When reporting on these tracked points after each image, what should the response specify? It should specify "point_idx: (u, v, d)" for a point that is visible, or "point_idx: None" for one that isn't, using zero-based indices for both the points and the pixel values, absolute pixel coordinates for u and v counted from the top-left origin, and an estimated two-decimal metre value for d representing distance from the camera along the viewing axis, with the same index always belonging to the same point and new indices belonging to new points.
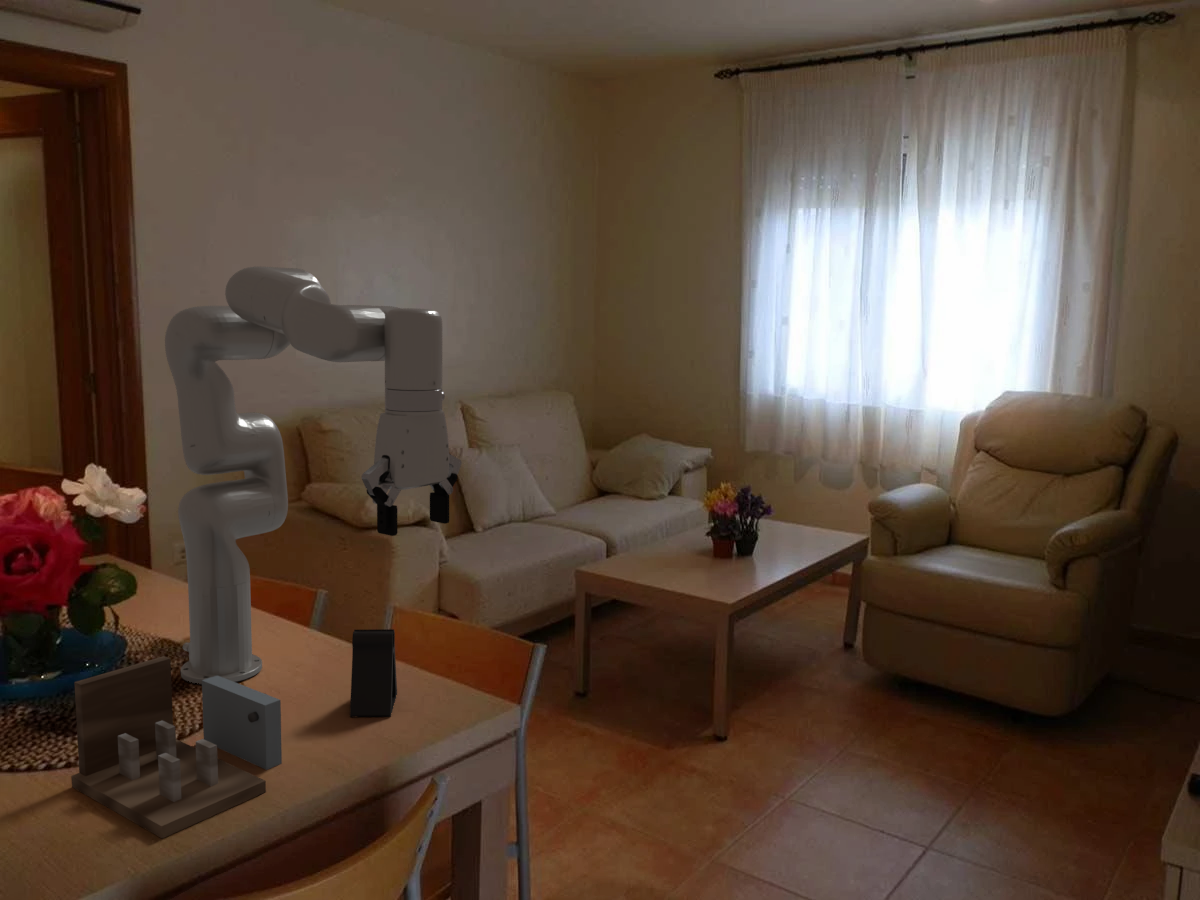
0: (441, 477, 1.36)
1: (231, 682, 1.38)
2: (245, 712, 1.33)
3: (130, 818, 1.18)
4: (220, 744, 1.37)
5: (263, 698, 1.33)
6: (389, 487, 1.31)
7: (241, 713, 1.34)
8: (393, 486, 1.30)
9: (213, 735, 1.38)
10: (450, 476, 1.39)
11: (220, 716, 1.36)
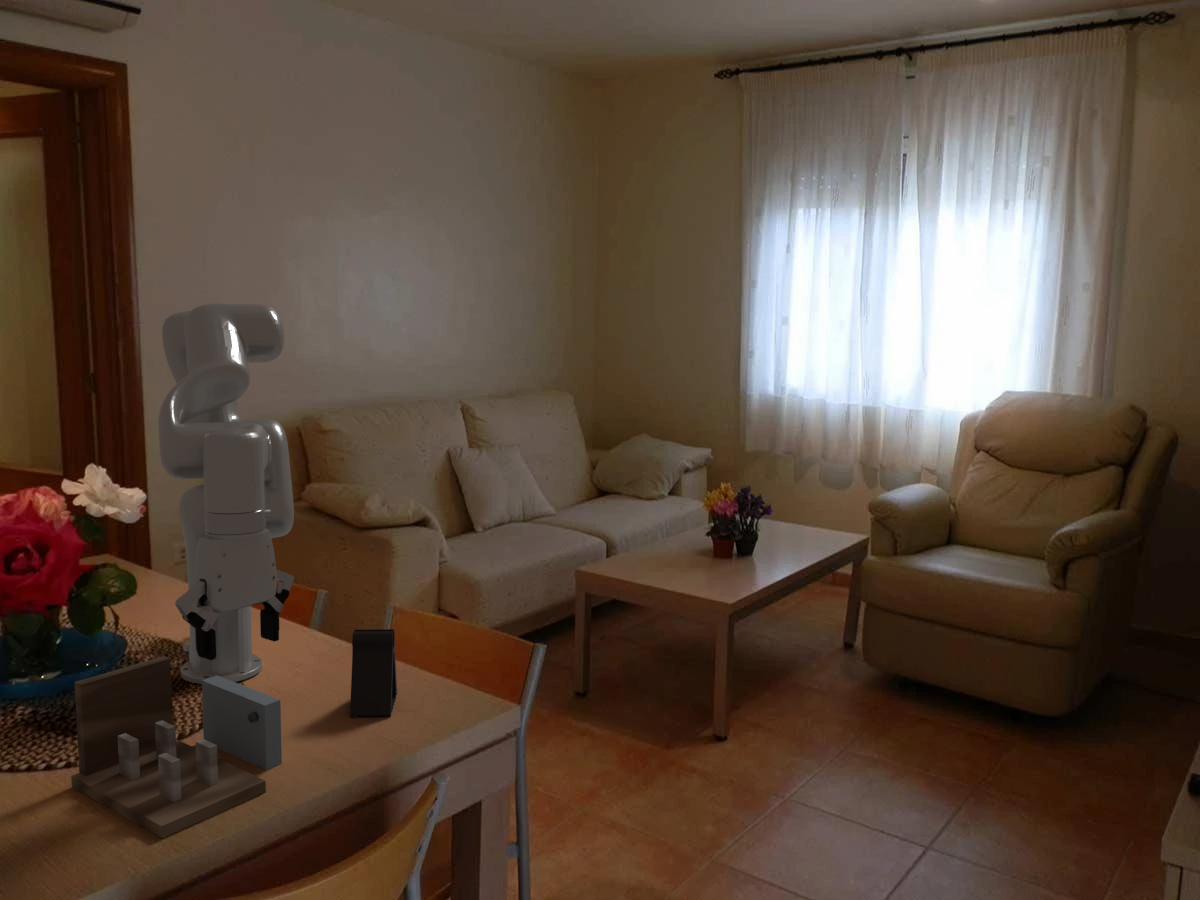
0: (267, 596, 1.34)
1: (231, 682, 1.38)
2: (245, 712, 1.33)
3: (130, 818, 1.18)
4: (220, 744, 1.37)
5: (263, 698, 1.33)
6: (208, 610, 1.30)
7: (241, 713, 1.34)
8: (211, 610, 1.29)
9: (213, 735, 1.38)
10: (281, 593, 1.38)
11: (220, 716, 1.36)
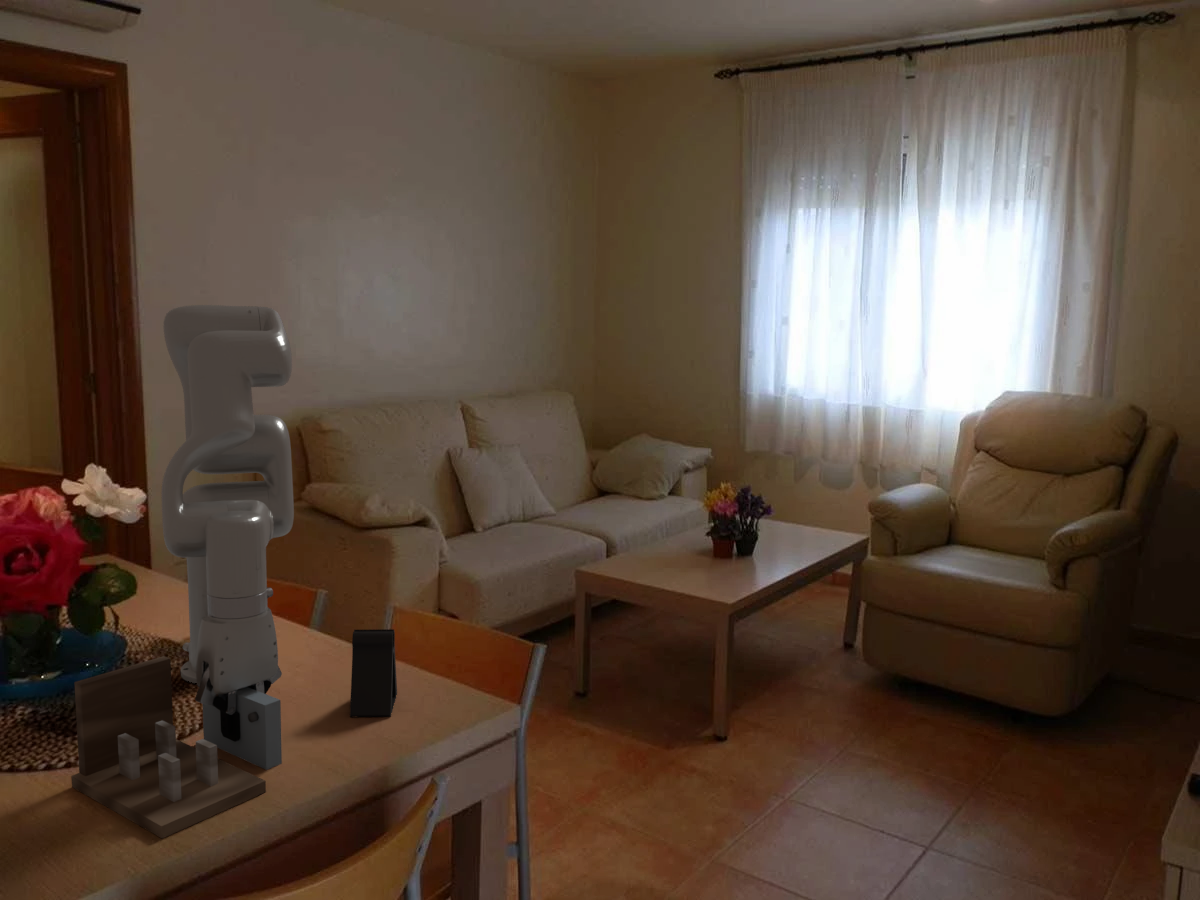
0: (268, 674, 1.36)
1: None
2: (245, 712, 1.33)
3: (130, 818, 1.18)
4: (220, 744, 1.37)
5: (263, 698, 1.33)
6: None
7: (241, 713, 1.34)
8: (226, 696, 1.32)
9: (213, 735, 1.38)
10: None
11: None
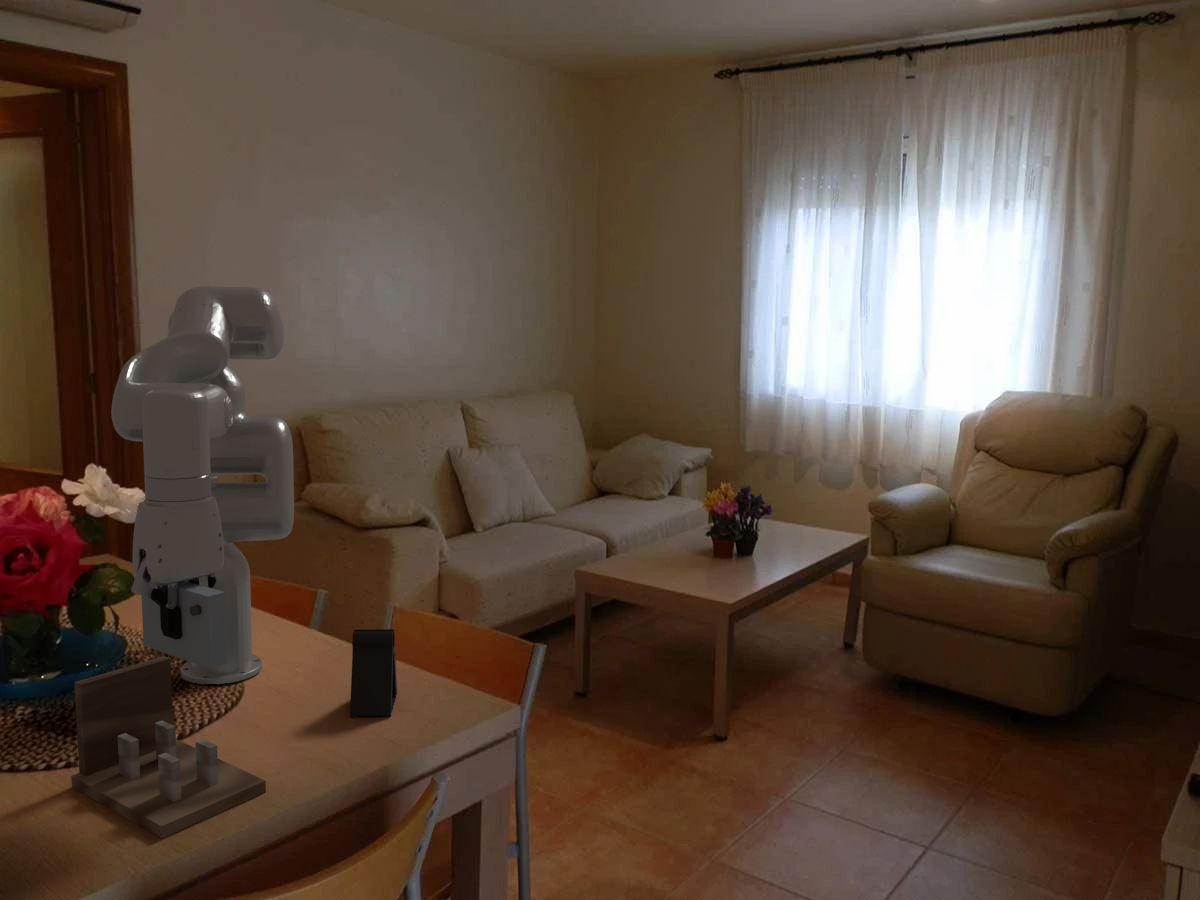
0: (213, 568, 1.26)
1: None
2: (187, 607, 1.22)
3: (130, 818, 1.18)
4: (161, 645, 1.26)
5: (206, 591, 1.22)
6: None
7: (182, 608, 1.23)
8: (166, 588, 1.22)
9: (153, 637, 1.27)
10: None
11: None
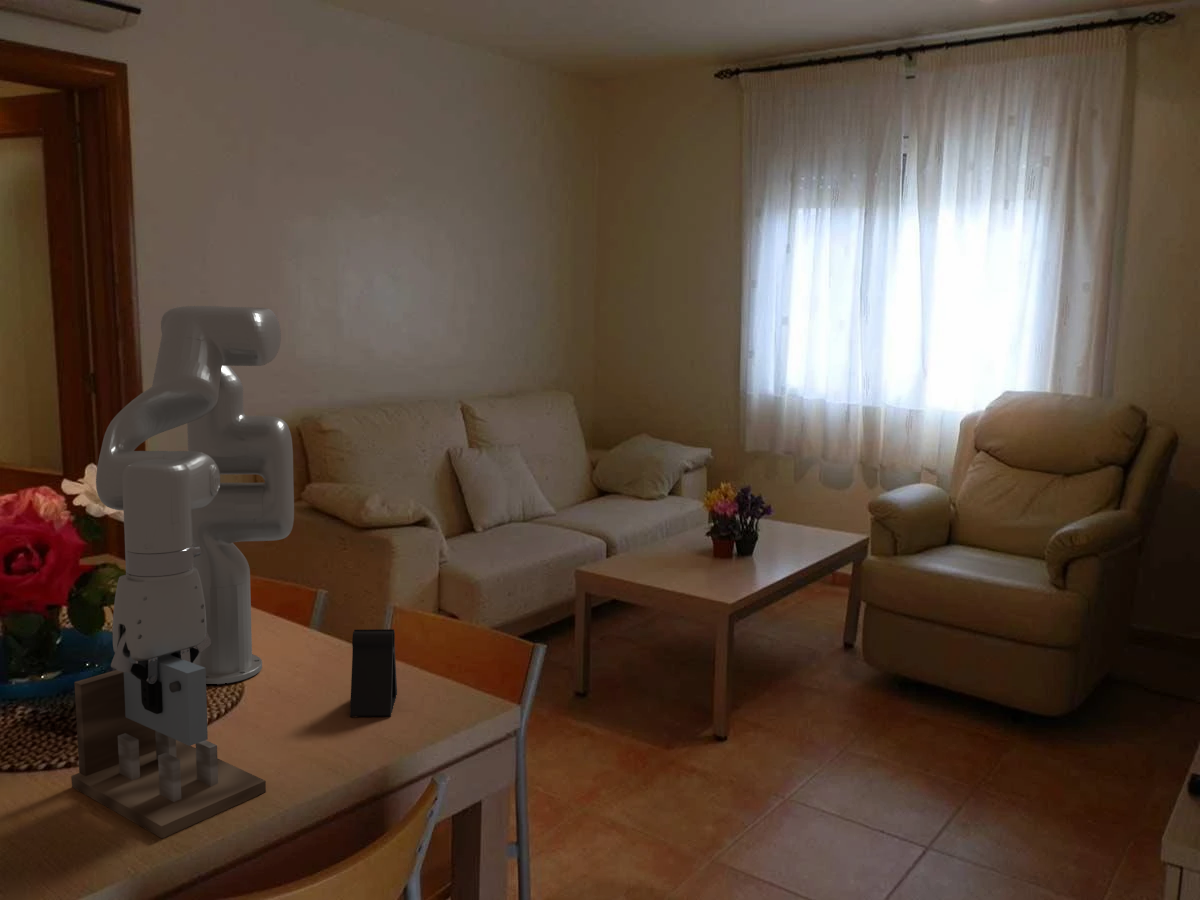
0: (195, 641, 1.24)
1: None
2: (167, 682, 1.21)
3: (130, 818, 1.18)
4: (142, 718, 1.25)
5: (187, 666, 1.20)
6: None
7: (163, 683, 1.21)
8: (146, 663, 1.20)
9: (135, 709, 1.26)
10: None
11: None
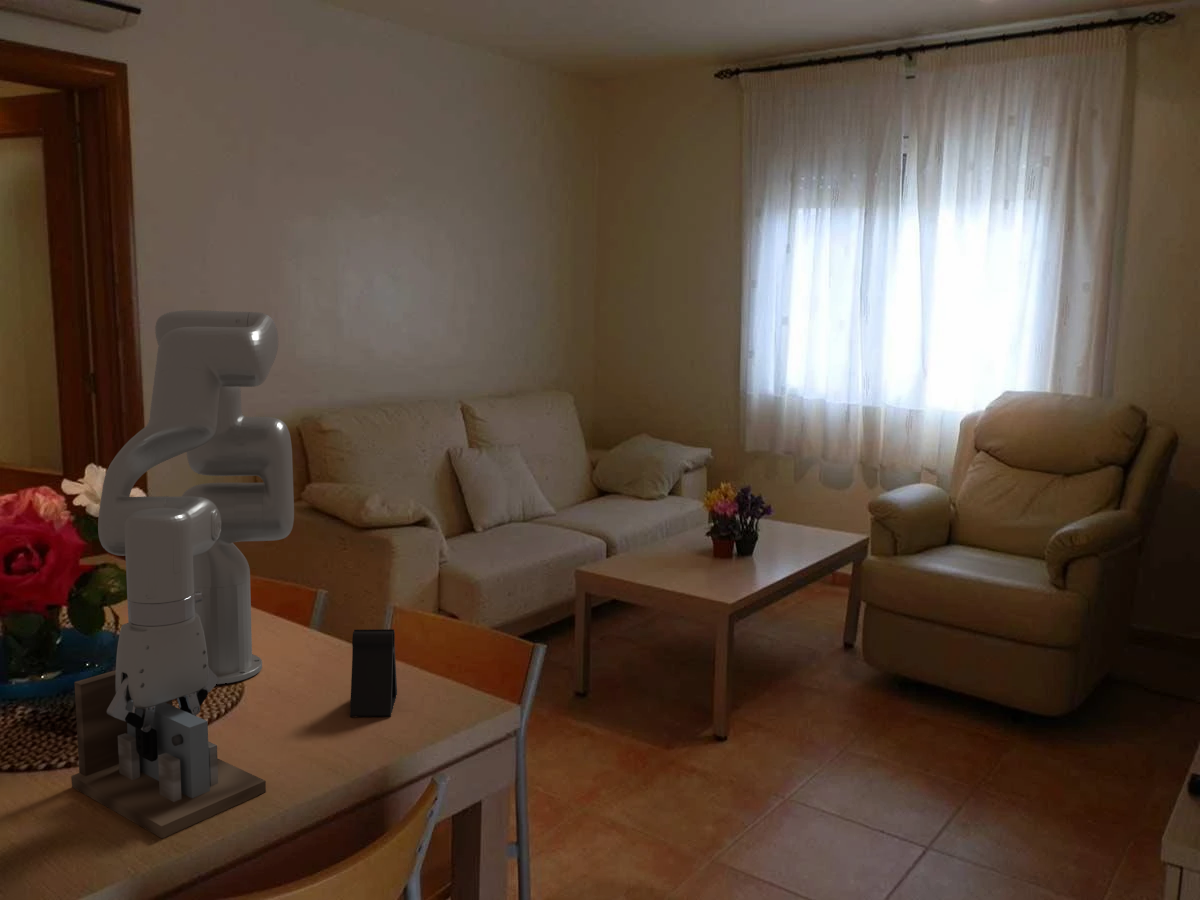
0: (197, 686, 1.25)
1: None
2: (170, 735, 1.22)
3: (130, 818, 1.18)
4: (145, 768, 1.26)
5: (189, 719, 1.22)
6: None
7: (165, 735, 1.23)
8: (144, 710, 1.21)
9: None
10: (198, 693, 1.27)
11: None
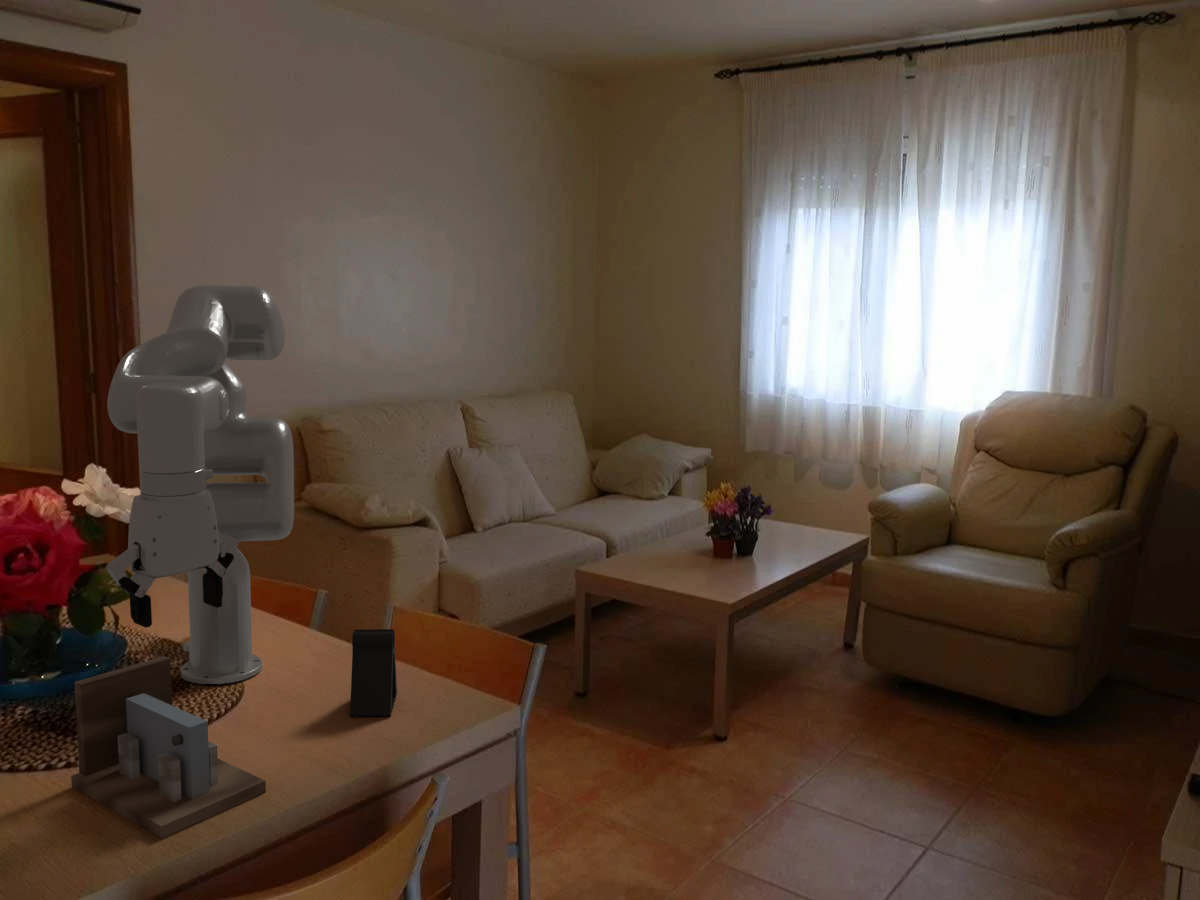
0: (208, 561, 1.27)
1: (158, 700, 1.27)
2: (170, 735, 1.22)
3: (130, 818, 1.18)
4: (145, 768, 1.26)
5: (189, 719, 1.22)
6: (143, 575, 1.23)
7: (165, 735, 1.23)
8: (145, 575, 1.22)
9: None
10: (224, 556, 1.31)
11: (145, 738, 1.25)
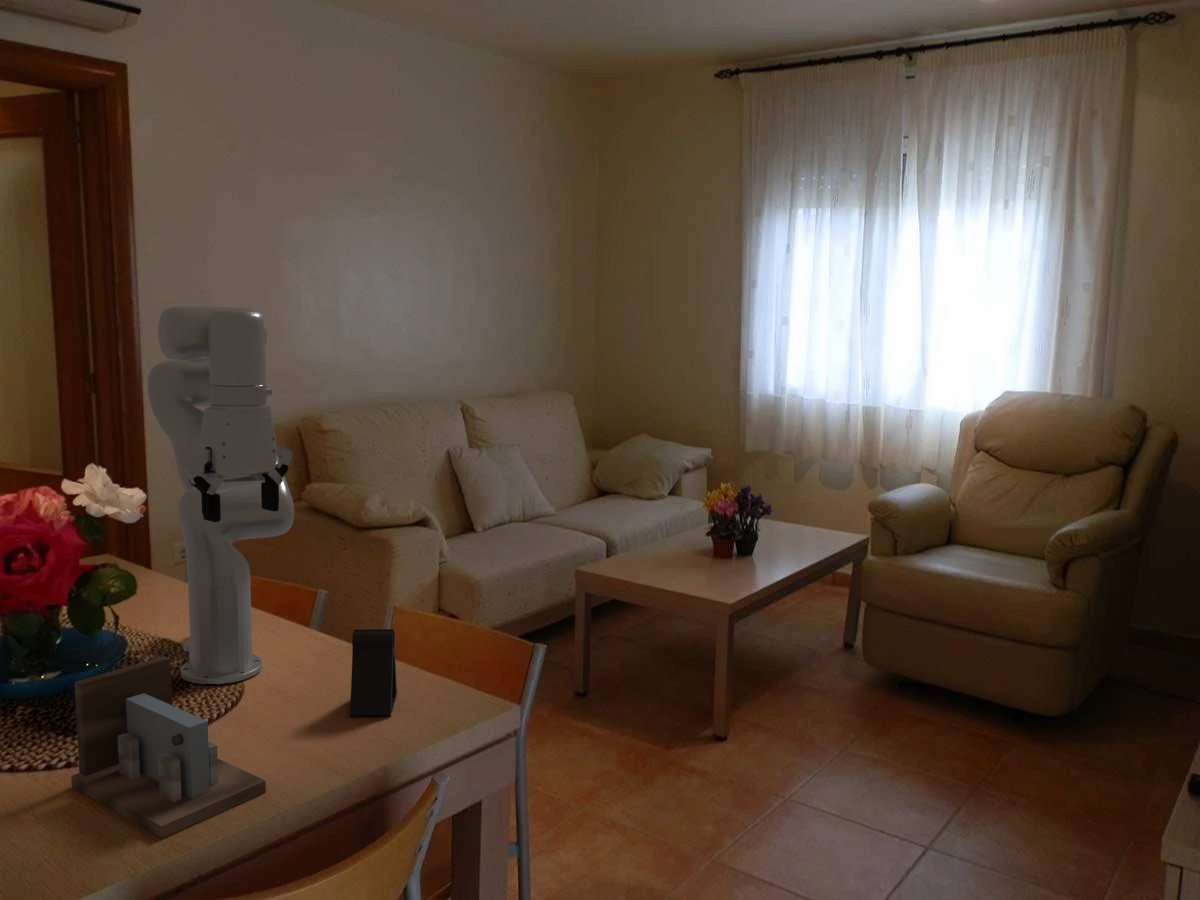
0: (268, 468, 1.45)
1: (158, 700, 1.27)
2: (170, 735, 1.22)
3: (130, 818, 1.18)
4: (145, 768, 1.26)
5: (189, 719, 1.22)
6: (213, 477, 1.40)
7: (165, 735, 1.23)
8: (215, 476, 1.39)
9: None
10: (280, 467, 1.48)
11: (145, 738, 1.25)
